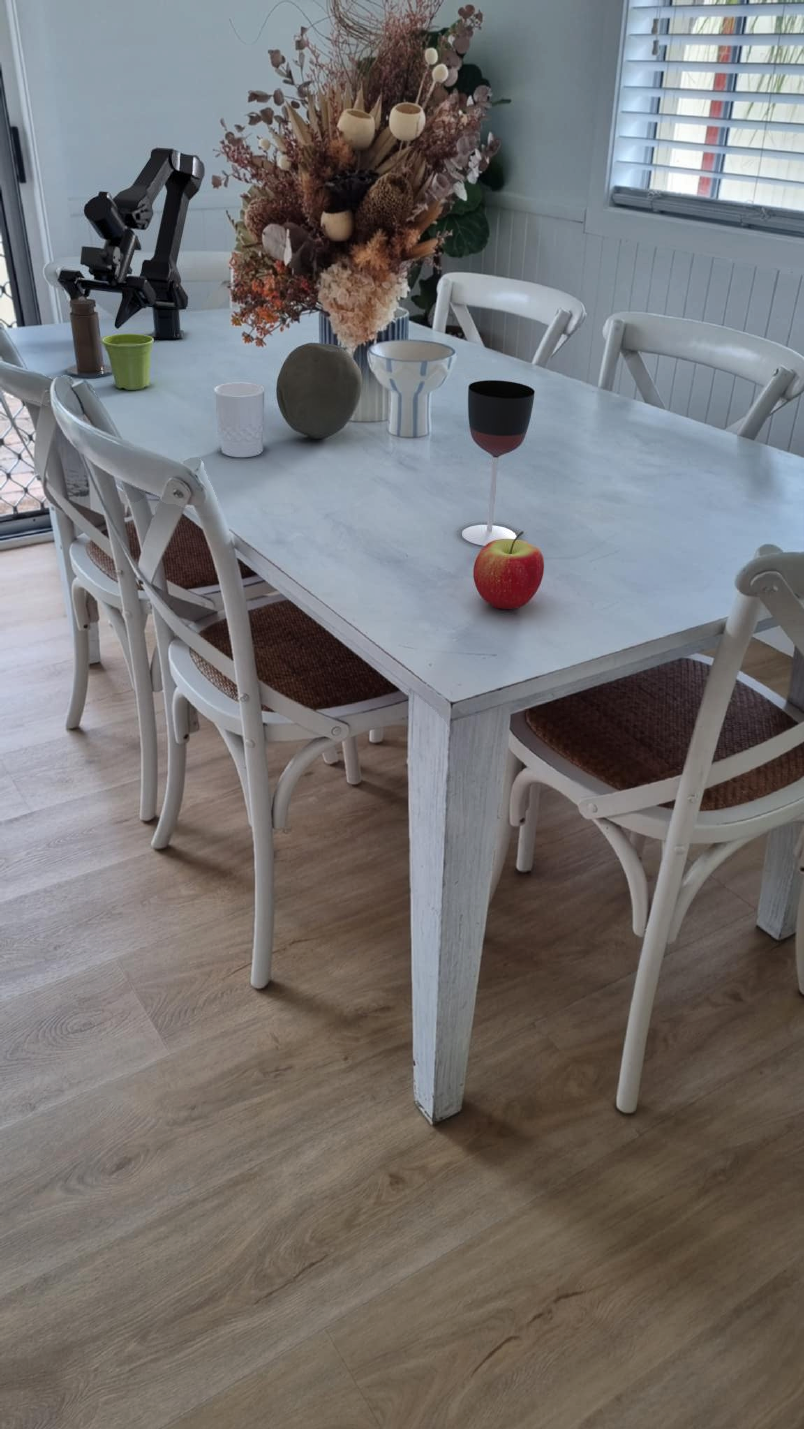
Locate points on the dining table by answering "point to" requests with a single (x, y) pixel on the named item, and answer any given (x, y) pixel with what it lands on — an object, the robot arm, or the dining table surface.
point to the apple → (508, 572)
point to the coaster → (75, 373)
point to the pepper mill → (86, 335)
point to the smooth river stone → (318, 389)
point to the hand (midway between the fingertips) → (95, 325)
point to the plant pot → (129, 359)
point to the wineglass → (497, 437)
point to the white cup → (240, 418)
